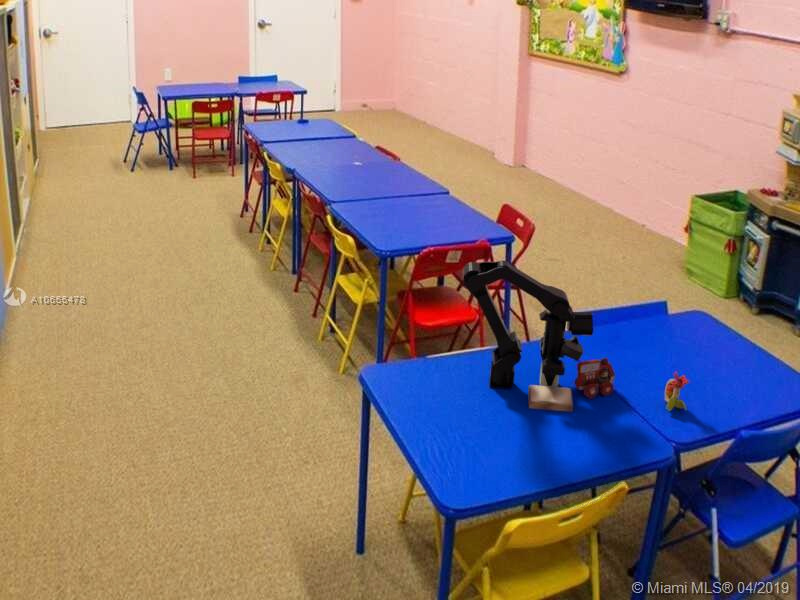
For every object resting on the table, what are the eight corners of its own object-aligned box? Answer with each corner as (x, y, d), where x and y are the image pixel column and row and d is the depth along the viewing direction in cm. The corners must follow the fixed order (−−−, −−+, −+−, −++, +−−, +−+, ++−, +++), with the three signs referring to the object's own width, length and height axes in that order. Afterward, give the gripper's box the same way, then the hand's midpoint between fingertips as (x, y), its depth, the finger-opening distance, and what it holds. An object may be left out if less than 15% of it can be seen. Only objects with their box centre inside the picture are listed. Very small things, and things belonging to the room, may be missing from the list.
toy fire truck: (618, 393, 244) (623, 362, 240) (581, 400, 240) (585, 368, 236) (605, 382, 250) (610, 351, 246) (568, 388, 246) (572, 357, 242)
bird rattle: (655, 408, 241) (669, 413, 232) (654, 369, 241) (669, 373, 232) (676, 407, 242) (691, 412, 233) (675, 368, 242) (690, 372, 233)
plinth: (528, 408, 236) (529, 400, 235) (528, 391, 244) (529, 384, 243) (572, 411, 235) (573, 404, 234) (570, 394, 243) (571, 387, 242)
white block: (539, 389, 245) (541, 370, 243) (539, 380, 250) (541, 361, 247) (557, 390, 245) (559, 371, 242) (556, 382, 249) (558, 363, 247)
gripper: (585, 350, 231) (579, 399, 237) (580, 321, 248) (574, 367, 254) (544, 347, 232) (539, 396, 239) (542, 318, 249) (537, 364, 255)
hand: (549, 380), depth 247 cm, fingers closed on white block, 5 cm apart
